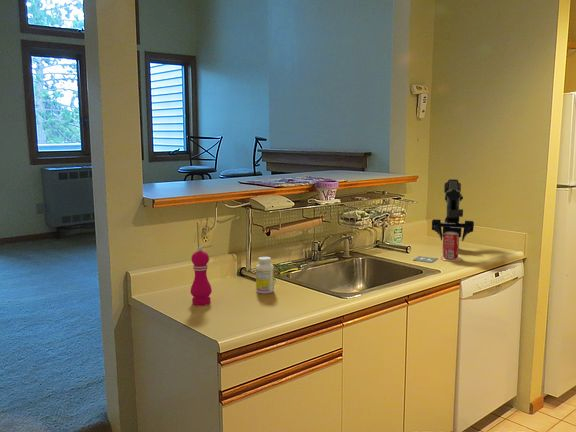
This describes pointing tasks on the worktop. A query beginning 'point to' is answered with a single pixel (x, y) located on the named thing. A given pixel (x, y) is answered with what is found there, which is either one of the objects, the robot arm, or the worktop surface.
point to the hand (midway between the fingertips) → (452, 240)
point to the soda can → (450, 245)
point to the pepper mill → (200, 279)
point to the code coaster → (425, 259)
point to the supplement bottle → (264, 276)
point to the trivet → (451, 259)
